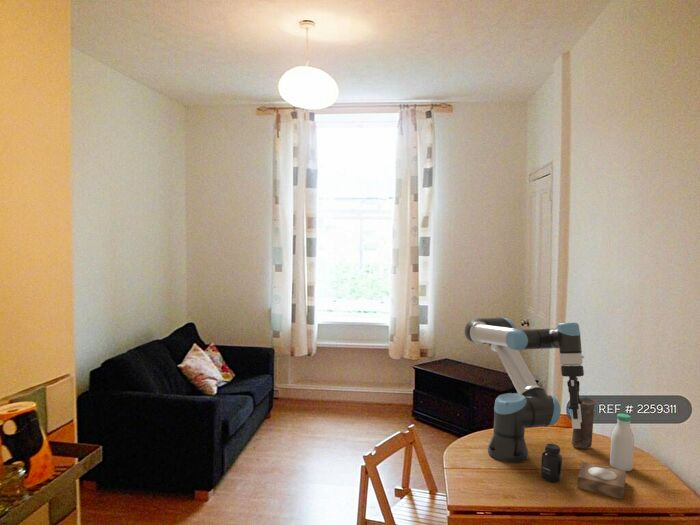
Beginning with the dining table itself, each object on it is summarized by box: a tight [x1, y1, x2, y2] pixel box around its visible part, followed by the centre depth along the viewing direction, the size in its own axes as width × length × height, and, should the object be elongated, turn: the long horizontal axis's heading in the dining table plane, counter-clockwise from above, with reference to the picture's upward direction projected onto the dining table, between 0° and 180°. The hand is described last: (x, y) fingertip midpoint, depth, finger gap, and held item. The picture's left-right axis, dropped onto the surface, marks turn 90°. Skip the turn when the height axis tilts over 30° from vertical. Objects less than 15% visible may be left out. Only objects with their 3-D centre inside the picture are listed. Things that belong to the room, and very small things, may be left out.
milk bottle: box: [609, 413, 635, 472], centre depth 197 cm, size 8×8×20 cm
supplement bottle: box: [540, 443, 563, 484], centre depth 186 cm, size 7×7×12 cm
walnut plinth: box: [577, 461, 627, 500], centre depth 183 cm, size 14×14×4 cm
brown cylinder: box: [571, 396, 596, 450], centre depth 215 cm, size 8×7×20 cm
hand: (577, 425), depth 188 cm, fingers open, 13 cm apart
